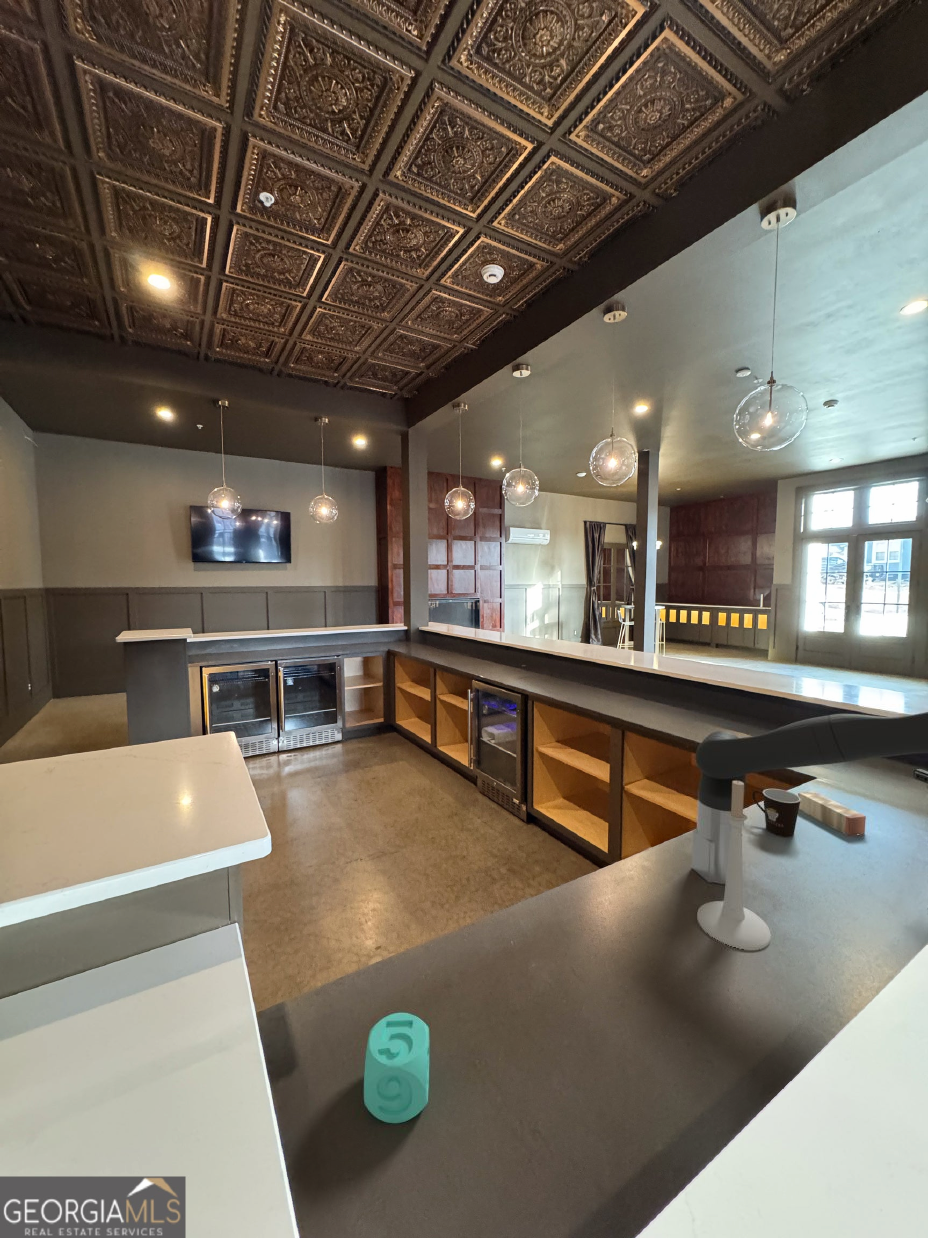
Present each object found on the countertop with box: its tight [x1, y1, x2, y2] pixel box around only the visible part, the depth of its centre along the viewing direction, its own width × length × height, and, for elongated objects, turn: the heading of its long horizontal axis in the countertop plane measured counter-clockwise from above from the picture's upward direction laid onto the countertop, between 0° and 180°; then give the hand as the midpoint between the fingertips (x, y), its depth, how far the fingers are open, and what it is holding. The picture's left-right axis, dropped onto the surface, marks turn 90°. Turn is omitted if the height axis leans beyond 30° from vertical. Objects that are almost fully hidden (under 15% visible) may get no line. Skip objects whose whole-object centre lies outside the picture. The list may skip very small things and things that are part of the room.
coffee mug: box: [752, 788, 801, 838], centre depth 134 cm, size 12×9×10 cm
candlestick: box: [696, 781, 772, 951], centre depth 96 cm, size 13×13×30 cm
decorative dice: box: [363, 1012, 430, 1124], centre depth 66 cm, size 8×8×8 cm
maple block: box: [797, 790, 867, 837], centre depth 138 cm, size 5×5×16 cm
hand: (915, 773), depth 113 cm, fingers closed
